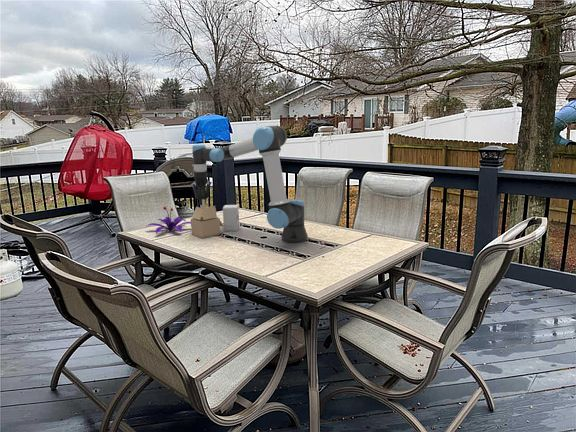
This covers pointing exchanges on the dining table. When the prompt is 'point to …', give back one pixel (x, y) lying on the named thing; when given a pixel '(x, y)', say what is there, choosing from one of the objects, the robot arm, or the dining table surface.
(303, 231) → the robot arm
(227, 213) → the supplement box
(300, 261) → the dining table surface
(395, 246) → the dining table surface
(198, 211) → the flap left
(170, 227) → the decorative flower
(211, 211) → the flap near
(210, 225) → the carton
